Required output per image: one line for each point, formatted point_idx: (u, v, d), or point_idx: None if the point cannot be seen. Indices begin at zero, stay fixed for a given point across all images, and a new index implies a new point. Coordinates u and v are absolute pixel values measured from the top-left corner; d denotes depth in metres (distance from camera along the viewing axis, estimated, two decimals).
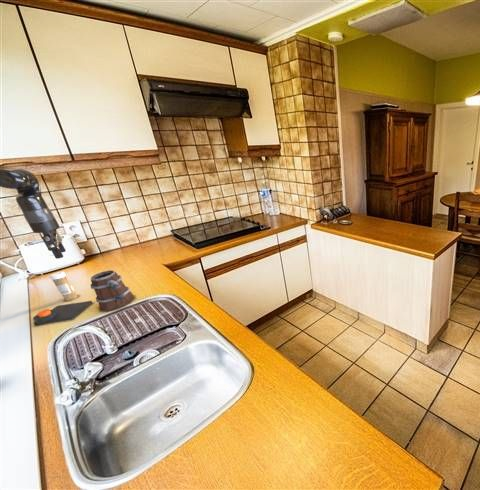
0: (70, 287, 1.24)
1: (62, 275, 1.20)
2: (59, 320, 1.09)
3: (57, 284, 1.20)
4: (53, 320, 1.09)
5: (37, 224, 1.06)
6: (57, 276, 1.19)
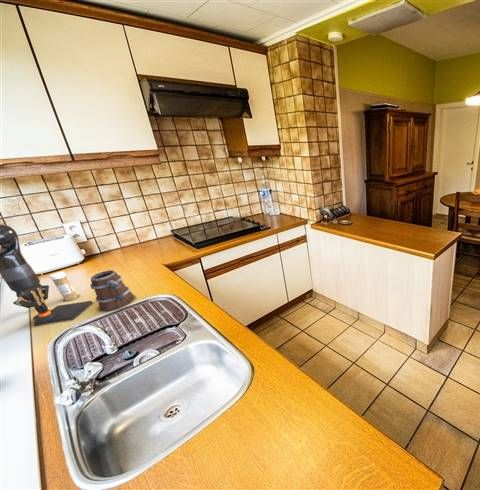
0: (70, 287, 1.24)
1: (62, 275, 1.20)
2: (59, 320, 1.09)
3: (57, 284, 1.20)
4: (53, 320, 1.09)
5: (9, 283, 0.99)
6: (57, 276, 1.19)
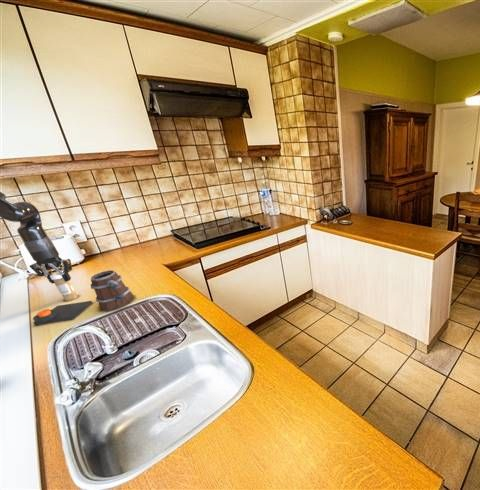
0: (70, 287, 1.24)
1: None
2: (59, 320, 1.09)
3: (57, 284, 1.20)
4: (53, 320, 1.09)
5: None
6: (57, 276, 1.19)
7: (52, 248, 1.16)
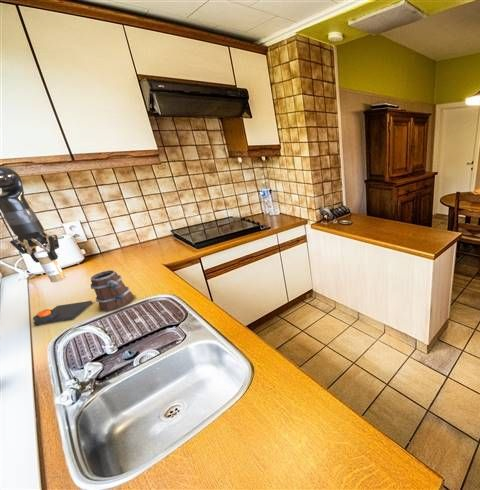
0: (57, 267, 1.10)
1: None
2: (59, 320, 1.09)
3: (42, 263, 1.07)
4: (53, 320, 1.09)
5: None
6: (42, 254, 1.06)
7: (36, 221, 1.03)
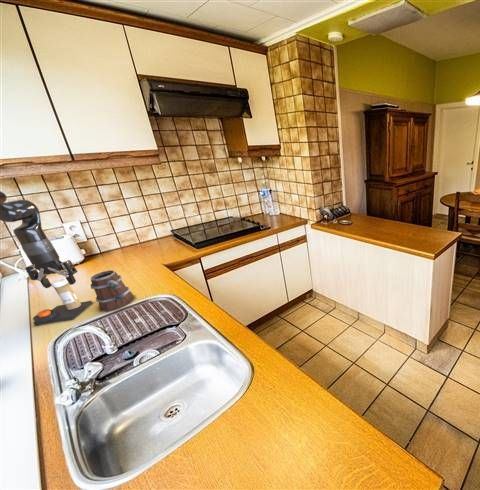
0: (73, 295, 1.14)
1: (64, 282, 1.11)
2: (59, 320, 1.09)
3: (59, 292, 1.11)
4: (53, 320, 1.09)
5: None
6: (59, 283, 1.10)
7: (52, 251, 1.06)
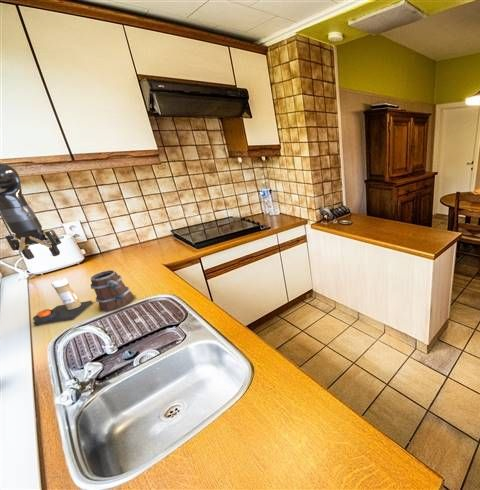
0: (73, 295, 1.14)
1: (64, 282, 1.11)
2: (59, 320, 1.09)
3: (59, 292, 1.11)
4: (53, 320, 1.09)
5: None
6: (59, 283, 1.10)
7: (33, 219, 1.01)
